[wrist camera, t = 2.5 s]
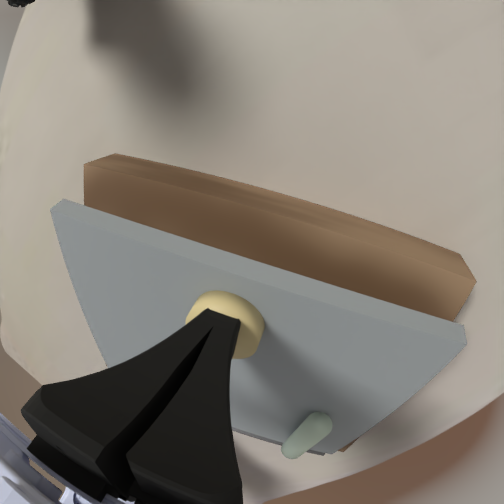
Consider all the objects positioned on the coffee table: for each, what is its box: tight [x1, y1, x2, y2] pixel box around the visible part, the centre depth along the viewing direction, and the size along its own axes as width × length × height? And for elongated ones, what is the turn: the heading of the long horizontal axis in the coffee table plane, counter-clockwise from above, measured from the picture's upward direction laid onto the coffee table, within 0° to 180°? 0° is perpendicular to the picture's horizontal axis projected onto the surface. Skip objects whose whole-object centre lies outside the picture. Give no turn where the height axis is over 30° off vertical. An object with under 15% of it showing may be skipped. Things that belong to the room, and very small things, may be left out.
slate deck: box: [50, 199, 467, 459], centre depth 16 cm, size 17×19×3 cm
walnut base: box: [84, 154, 477, 452], centre depth 20 cm, size 18×22×3 cm
